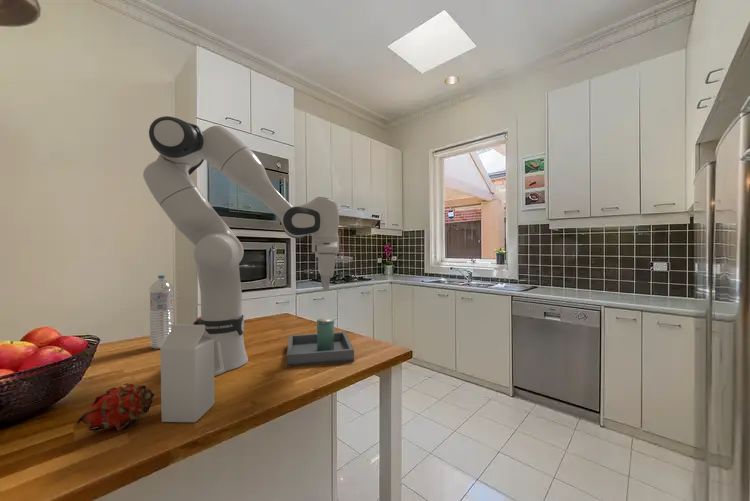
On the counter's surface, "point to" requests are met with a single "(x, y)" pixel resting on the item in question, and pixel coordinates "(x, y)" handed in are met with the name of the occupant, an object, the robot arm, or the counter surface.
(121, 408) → the dragon fruit
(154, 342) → the water bottle
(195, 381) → the milk carton
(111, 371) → the counter surface
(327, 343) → the green rounded cylinder
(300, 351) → the tray
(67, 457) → the counter surface
